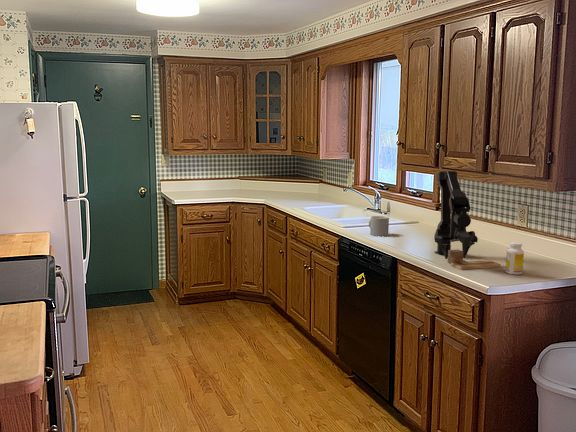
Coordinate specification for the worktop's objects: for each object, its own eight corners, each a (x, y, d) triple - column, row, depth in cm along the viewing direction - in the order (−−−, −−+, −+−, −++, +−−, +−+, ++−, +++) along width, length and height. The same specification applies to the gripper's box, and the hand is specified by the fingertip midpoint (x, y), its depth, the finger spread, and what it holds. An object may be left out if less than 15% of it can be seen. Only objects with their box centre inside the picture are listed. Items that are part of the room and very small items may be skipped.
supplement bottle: (524, 273, 249) (527, 243, 247) (518, 275, 244) (521, 245, 242) (509, 270, 253) (511, 240, 251) (502, 273, 248) (504, 243, 246)
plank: (450, 265, 260) (450, 262, 260) (488, 262, 267) (488, 260, 267) (461, 269, 253) (461, 266, 253) (500, 266, 259) (500, 264, 259)
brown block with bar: (447, 263, 265) (448, 250, 264) (457, 262, 267) (457, 249, 266) (460, 268, 256) (461, 254, 255) (470, 267, 257) (471, 254, 256)
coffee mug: (391, 236, 328) (392, 218, 327) (375, 237, 325) (376, 218, 323) (379, 231, 340) (380, 214, 339) (364, 232, 337) (364, 215, 335)
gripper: (449, 227, 251) (447, 263, 253) (486, 225, 257) (484, 260, 259) (435, 223, 261) (433, 258, 263) (470, 221, 267) (468, 255, 269)
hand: (455, 258), depth 264 cm, fingers open, 9 cm apart
